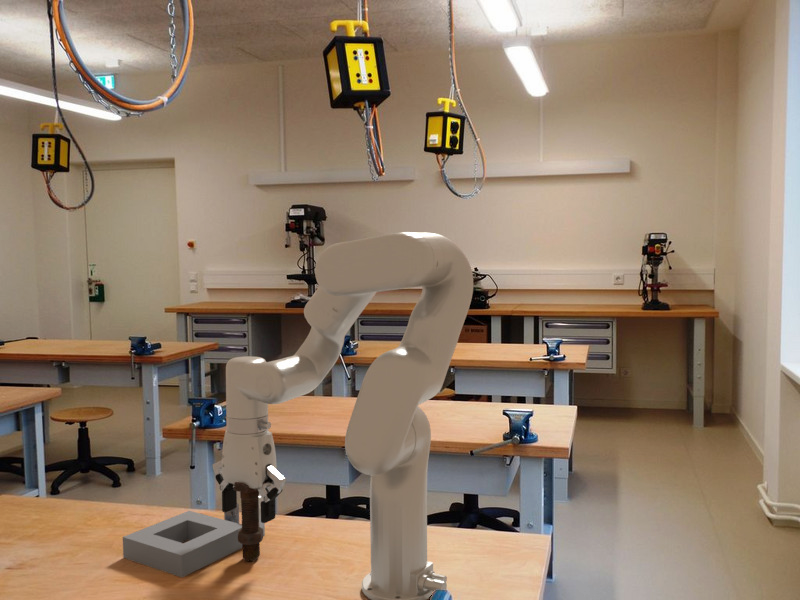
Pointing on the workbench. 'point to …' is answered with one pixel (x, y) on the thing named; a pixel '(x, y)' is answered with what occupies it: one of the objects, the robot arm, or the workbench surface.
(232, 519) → the pin short
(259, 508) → the pin mid
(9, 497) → the workbench surface
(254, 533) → the bolt
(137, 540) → the frame
